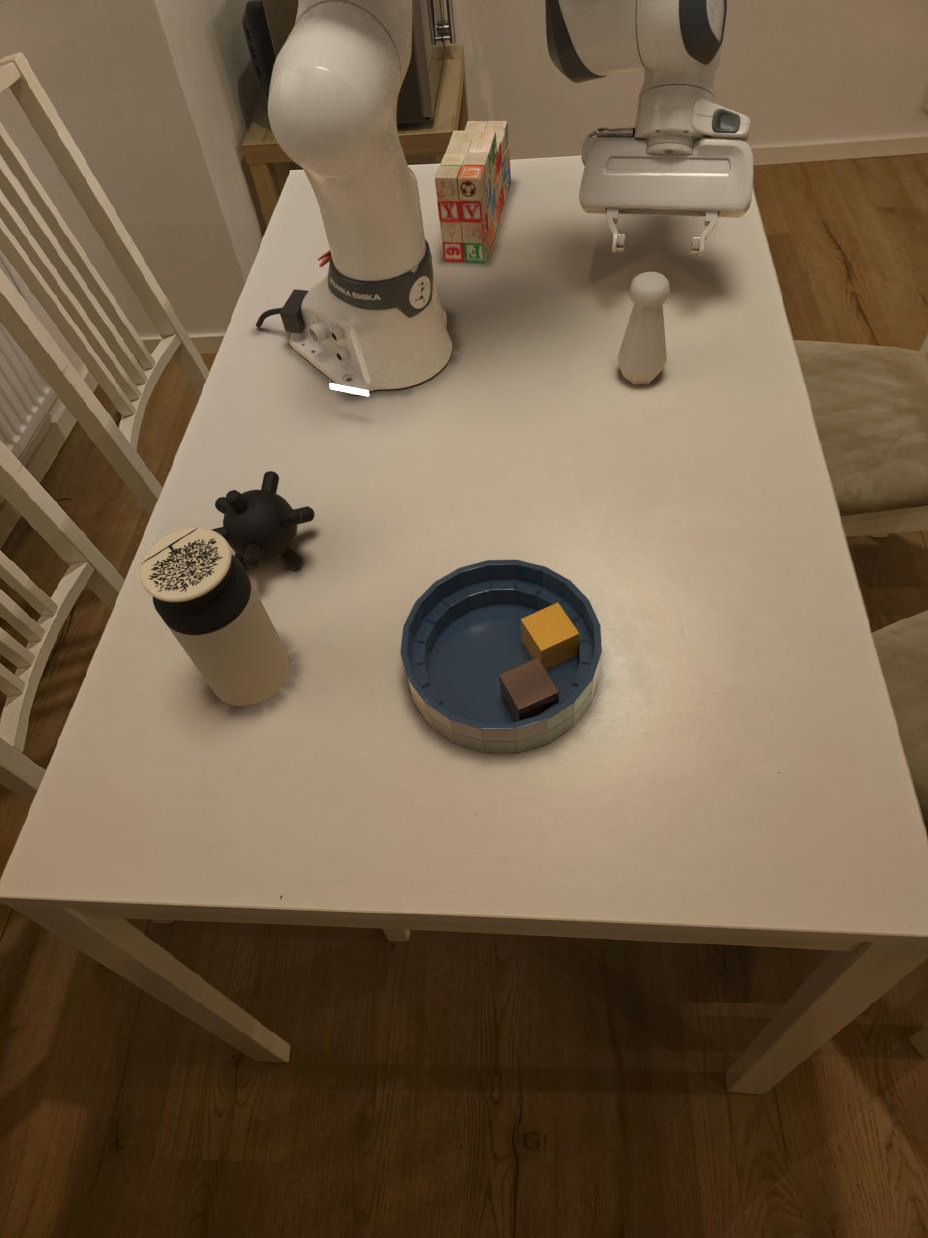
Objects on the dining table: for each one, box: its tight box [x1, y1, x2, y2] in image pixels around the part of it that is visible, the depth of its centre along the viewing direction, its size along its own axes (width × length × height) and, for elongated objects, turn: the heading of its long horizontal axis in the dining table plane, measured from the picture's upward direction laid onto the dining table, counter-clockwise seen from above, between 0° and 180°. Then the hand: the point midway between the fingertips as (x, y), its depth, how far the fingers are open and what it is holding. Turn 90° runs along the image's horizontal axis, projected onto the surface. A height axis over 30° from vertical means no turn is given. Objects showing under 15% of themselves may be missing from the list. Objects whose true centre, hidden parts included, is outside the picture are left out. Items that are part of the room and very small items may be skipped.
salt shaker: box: [617, 271, 671, 386], centre depth 94 cm, size 6×6×13 cm
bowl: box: [400, 559, 603, 754], centre depth 76 cm, size 18×18×6 cm
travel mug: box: [139, 527, 291, 708], centre depth 73 cm, size 8×8×18 cm
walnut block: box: [499, 658, 559, 722], centre depth 74 cm, size 4×4×4 cm
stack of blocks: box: [434, 120, 512, 264], centre depth 117 cm, size 21×6×12 cm, turn 168°
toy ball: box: [210, 470, 315, 570], centre depth 85 cm, size 11×11×12 cm
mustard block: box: [521, 603, 579, 670], centre depth 77 cm, size 4×4×4 cm
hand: (656, 253), depth 99 cm, fingers open, 8 cm apart
